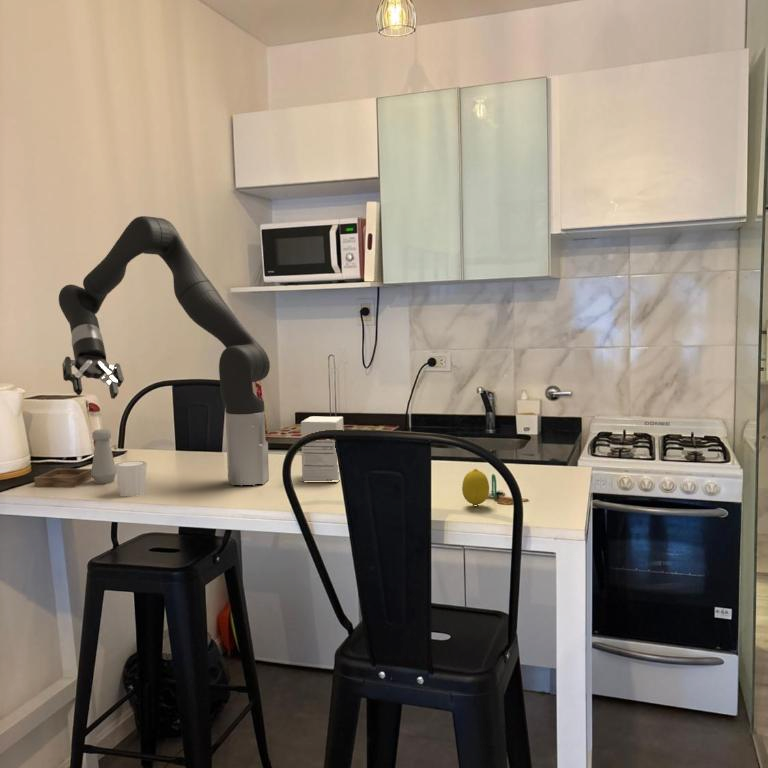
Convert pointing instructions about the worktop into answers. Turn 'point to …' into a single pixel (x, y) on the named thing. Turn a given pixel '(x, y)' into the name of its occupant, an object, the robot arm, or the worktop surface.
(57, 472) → the wooden tray
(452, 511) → the worktop surface
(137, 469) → the shot glass
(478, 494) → the lemon
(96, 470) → the salt shaker
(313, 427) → the supplement box
